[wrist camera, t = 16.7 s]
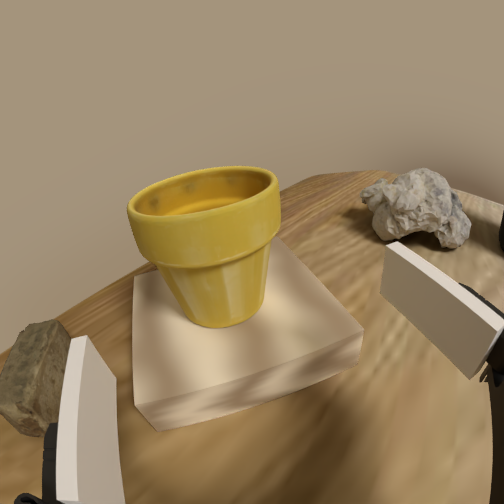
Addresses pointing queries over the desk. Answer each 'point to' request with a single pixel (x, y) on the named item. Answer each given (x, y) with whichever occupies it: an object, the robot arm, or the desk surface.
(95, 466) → the robot arm
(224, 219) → the plant pot
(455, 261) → the desk surface
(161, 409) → the birch block
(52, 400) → the stone block
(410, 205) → the mineral
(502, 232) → the coffee jar
